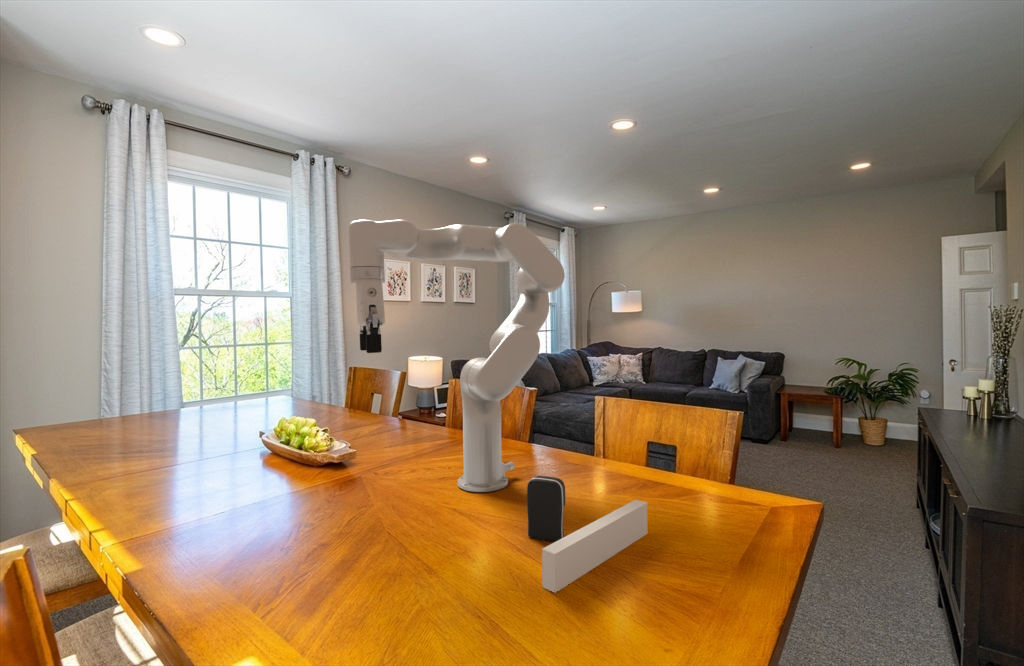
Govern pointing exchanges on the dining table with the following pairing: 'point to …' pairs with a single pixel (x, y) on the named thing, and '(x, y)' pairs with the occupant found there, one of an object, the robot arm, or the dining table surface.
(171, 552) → the dining table surface
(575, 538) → the board
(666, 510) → the dining table surface
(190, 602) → the dining table surface
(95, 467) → the dining table surface
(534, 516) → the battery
